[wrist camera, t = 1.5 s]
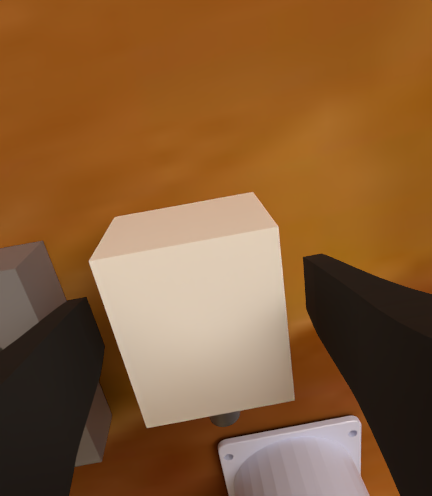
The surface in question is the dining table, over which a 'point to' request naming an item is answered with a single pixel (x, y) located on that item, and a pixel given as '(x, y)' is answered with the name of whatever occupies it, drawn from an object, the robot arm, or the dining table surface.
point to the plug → (198, 308)
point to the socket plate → (34, 310)
